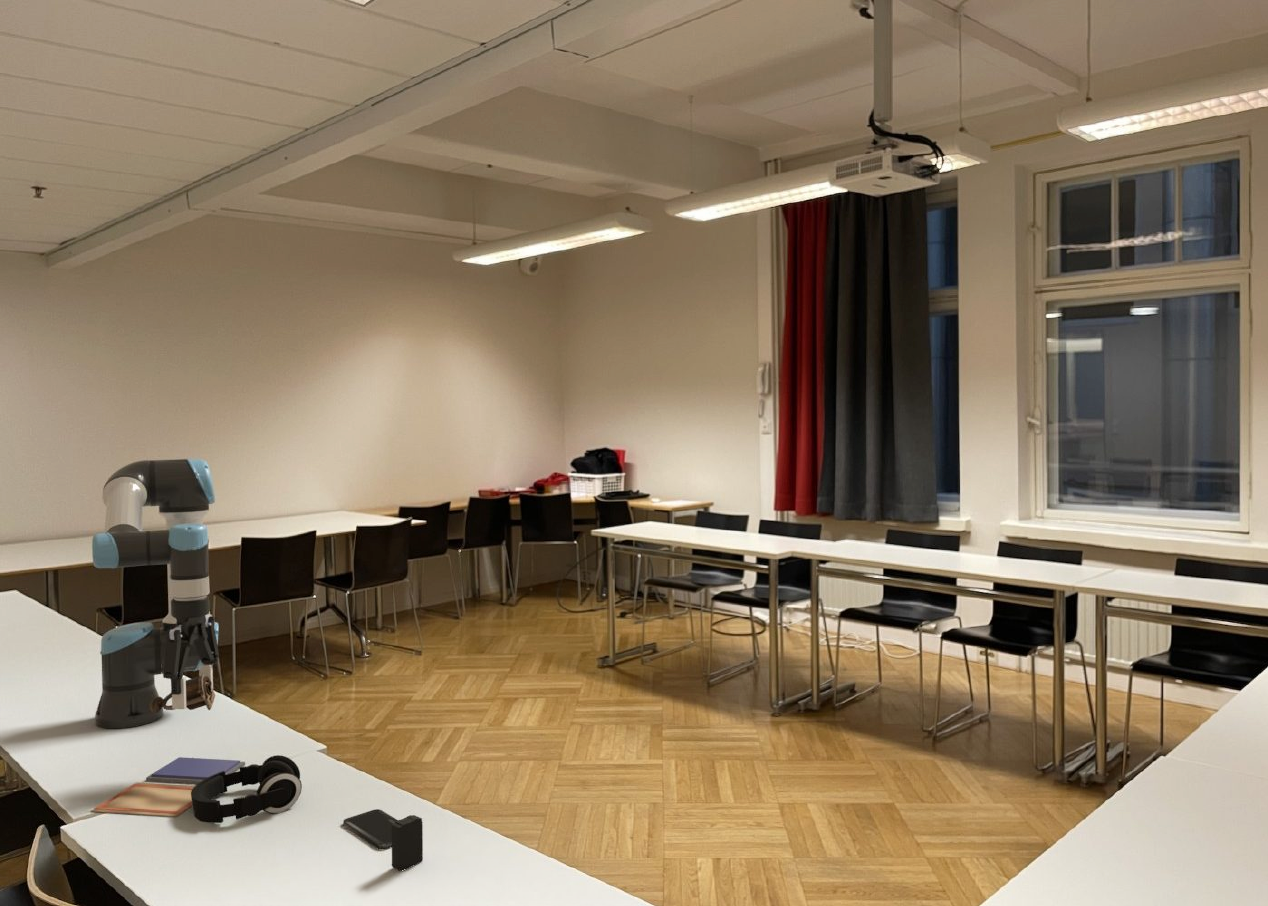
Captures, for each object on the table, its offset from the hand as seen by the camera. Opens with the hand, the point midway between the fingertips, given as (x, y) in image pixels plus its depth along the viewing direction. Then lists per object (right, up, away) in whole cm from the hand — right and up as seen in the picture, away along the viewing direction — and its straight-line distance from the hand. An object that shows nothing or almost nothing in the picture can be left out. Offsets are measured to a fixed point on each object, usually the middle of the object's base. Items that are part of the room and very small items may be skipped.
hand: (193, 701), depth 207 cm
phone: (+47, -18, -27) cm, 57 cm away
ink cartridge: (+55, -18, -40) cm, 70 cm away
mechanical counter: (-2, -2, 0) cm, 3 cm away
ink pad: (0, -16, +1) cm, 16 cm away
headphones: (+18, -17, -15) cm, 29 cm away
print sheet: (-2, -16, -13) cm, 21 cm away
